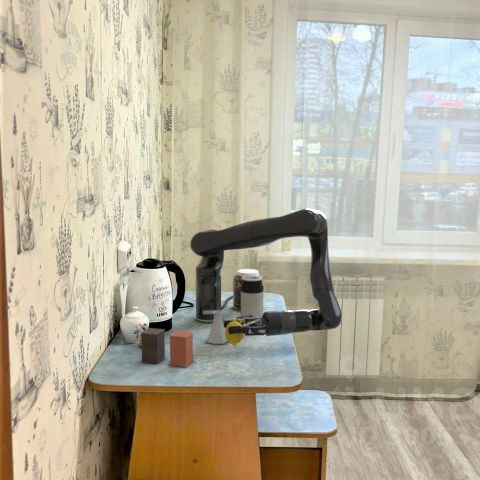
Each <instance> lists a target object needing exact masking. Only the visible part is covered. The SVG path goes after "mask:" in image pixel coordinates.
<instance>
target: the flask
mask: <svg viewBox="0 0 480 480" xmlns="http://www.w3.org/2000/svg"><path fill="white" fill-rule="evenodd" d="M223 312H224V311H223V310H221V311H220V310H218V311H213V314H214V321H213V322H212V325H211V328H210V331H209V334H208V336H207V340H206V342H207V343H209V344H213V345H223V344H226V343H227V342H228V341H227V339H226V336H225V330H226V328H224V320H223V314H224V313H223ZM228 343H229V342H228Z"/></svg>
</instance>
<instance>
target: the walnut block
mask: <svg viewBox="0 0 480 480" xmlns="http://www.w3.org/2000/svg"><path fill="white" fill-rule="evenodd" d="M165 331H166V330H165V328H164V329H163V328H155V327H148V328H147V329H145V330H144V331H142V332H141V334H140V338H141V343H142V347H141V363H145V364H154V365H158V364H159V363H161V362H162V361H163V360H165V359H166V340H165V339H166V337H165V335H166V333H165Z"/></svg>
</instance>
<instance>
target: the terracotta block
mask: <svg viewBox="0 0 480 480" xmlns="http://www.w3.org/2000/svg"><path fill="white" fill-rule="evenodd" d="M193 333H194V332H193V331H184V330H176V331H174V332H173V333H171V334H170V335H169V361H170V362H169V366H172V367H173V366H174V367H182V368H187V367H188V366H189V365H191V364H192V363H193V362H194V344H193V343H194V341H193V340H194V334H193Z"/></svg>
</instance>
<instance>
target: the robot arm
mask: <svg viewBox="0 0 480 480" xmlns="http://www.w3.org/2000/svg"><path fill="white" fill-rule="evenodd" d="M328 227H329V225H328V219H327V217H326V215H325V214H324V213H323V212H322V211H320V210H316V209H313V208H312V209H311V208H302V209H300V210H296V211H293V212H290V213H288V214H284V215H280V216H273V217H265V218H260V219H254V220H248V221H245V222H241V223H238V224H235V225H232V226H228V227H227V228H224V229H218V230H217V229H215V228H214V229H213V228H212V229H205V230H201V231H200V230H199V231H198V232H196V233H195V234H193V236H192V237H191V239H190V243H189V246H190V249H191V251H192V253H193V254H194V255H196V256H198V257H201V260H200V261H199V263H197V265H196V266H195V321H196V322H199V323H207V324H208V323H209V324H210V323H213V321H214V314H213V311H218V310H220V311H223V309H224V308H225V307H226V305H227V304H228V301H230V300H231V299H233V295H231V296H229V297H227V298H226V300H225V302H224V304H223V305H222V270H223V266H224V261H225V260H224V259H225V252H226V251H233V250H234V251H236V250H246V249H253V248H259V247H264V246H268V245H271V244H273V243H275V242H276V241H279V240H282V239H286V238H288V239H289V238H297V237H299V238H300V237H301V238H307V239H308V242H309V246H310V254H311V255H310V266H309V280H310V282H309V283H310V285H311V286H310V288H311V293H312V297H313V299H314V301H316V302H317V304H318V307H319V308H317V309H316V308H315V309H294V310H293V309H292V310H291V309H290V310H288V309H281V310H269V311H263V316H262V318H258V317H254V315H246V316H241V315H239V316H236V317H235V320H236V321H237V322H239V323H240V324H241V326H240V325H239V326H229V327H228V333H229V334H237V333H241V334H243V335H244V336H245V337H250V336H252V337H255V336H256V337H257V336H265V337H273V336H274V337H275V336H284V335H290V334H295V333H296V334H297V333H305V332H309V331H310V332H311V331H329V330H335V329H337V328H338V327H339V326H340V325H341V324H342V320H343V314H342V309H341V307H340V304H339V302H338V301H339V300H338V299H337V296H336V294H335V288H334V283H333V282H334V281H333V277H332V272H331V267H330V266H331V263H330V255H329V230H328V229H329V228H328ZM233 320H234V319H227V320H223V325H224V328H225V329H226V327H227V325H228V324H229V323H230V322H232V321H233ZM241 321H243V322H241Z"/></svg>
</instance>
